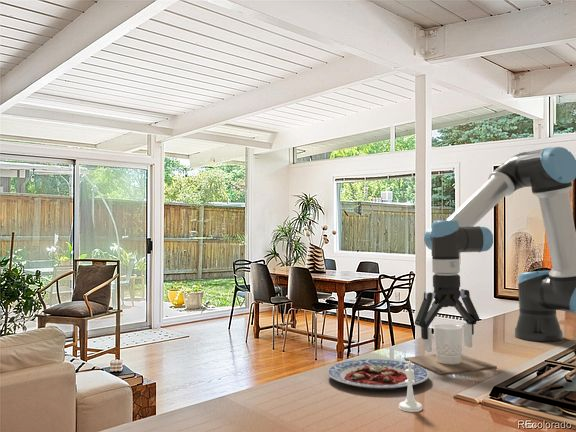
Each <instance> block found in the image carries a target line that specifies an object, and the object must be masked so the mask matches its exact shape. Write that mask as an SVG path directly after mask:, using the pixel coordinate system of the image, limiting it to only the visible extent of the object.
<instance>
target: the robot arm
mask: <svg viewBox="0 0 576 432" xmlns="http://www.w3.org/2000/svg"><path fill="white" fill-rule="evenodd" d="M575 179H576V158H575V156H574V154H573V153H572V152H571V151H569V150H568V149H567V148H565V147H562V146H555V147H554V146H552V147H551V146H550V147H545V148H540V149H535V150H530V151H524V152H519V153H516V154H515V155H513V156H511V157H509V158H508V159H506V160H505V161H504V162H502V163H501V164H500V165H499V166H497V168H495V169H494V170H493V171H492V172H491V173H490V174H489V175H488V180H487V181H486V182H485V183H483V185H482V186H481V187H480V188H479V189H477V190H476V191H475V192H474V193H473V194H472V195H471V196H469V198H468V199H467V200H465V202H463V203H462V204H461V205H460V206H459V207H458V208H457V209H456V210H455V211H453V213H452V214H451V215H450V216H448V218H447V219H445V220H442V219H441V220H434V221H432V222H431V227H429V228H428V229H427V230H426V231H425V232H424V236H423V242H424V244H425V246H426V247H427V249H429V250H431V255H432V256H431V257H432V259H431V261H432V262H431V263H432V266H431V267H432V273H433V275H432V286H433V292H431V291H424V292H423V298H422V299H423V300H422V302H421V305H420V308H419V310H418V312H417V315H416V318H415V321H414V325H415V326H418V327H419V328H420V331H421V332H420V333H421V335H420V336H421V339H422V340H423V350H424V351H426V352H429V353H432V351H433V350H432V349H433V348H432V328H431V327H430V326H431V324H432V322H433V321H434V319H435V318H436V316H437V314H438V313H439V312H440V310H442V309H443V308H448V307H450V308H451V307H452V308H455V310H456V311H457V313H458V314H459V315H460V316H461V317H462V320H464V321H465V322H464V323H463V345H464V347H468V348H473V335H474V334H475V332H474V330H475V325H476V324H477V322H479V321H480V316H479V314H478V312H477V310H476V307H475V306H474V303H473V301H472V299H471V294H470V290H469V289H462V288H461V289H460V287H461V275H460V272H461V267H460V265H461V264H460V263H461V262H460V257H461V256H460V254H461V253H482V252H488V251H489V250H490V249H491V248H492V247H493V245H494V234H493V232H492V231H491V230H490V229H489V227H486V226H480V225H479V226H478V225H477V226H476V224H478V223H479V222H480V221H481V220H482V219H483V218H484V217H485V216H486V215H487V214H488V213H489V212H490V211H491V210H492V209H493V208H494V207H495V206H497V204H499V202H501V201H502V200H503V199H504V198H505V197H507V196H508V197H509V196H511V195H512V194H514V192H515V191H517V190H519V189H523V188H527V187H528V188H529V187H531V188H530V189H531V193H532V194H533V195H535V196H536V197H538V201H539V207H540V211H541V216H542V221H543V227H544V232H545V236H546V241H547V246H548V253H549V256H550V263H551V266H552V268H551V269H550V270H539V271H527V272H526V271H525V272H521V273H520V274H519V275H518V283H517V286H518V287H517V288H518V289H517V290H518V305H519V306H518V308H519V314H518V315H519V316H518V319H517V322H516V325H515V328H514V337H516V338H518V339H522V340H525V341H526V340H527V341H534V342H558V341H562V340H564V332H563V330H562V329H561V326H560V323H559V320H558V319H559V318H558V317H557V311H562V312H569V313H573V314H576V228H575V221H574V216H573V212H572V206H571V201H570V196H569V191H570V190H571V189H572V188H573V183H572V182H573V181H574V180H575ZM460 298H461V300H462V302H463V303H462V302H461V300H460ZM463 305H464V306H465V307H464V306H463Z"/></svg>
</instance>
